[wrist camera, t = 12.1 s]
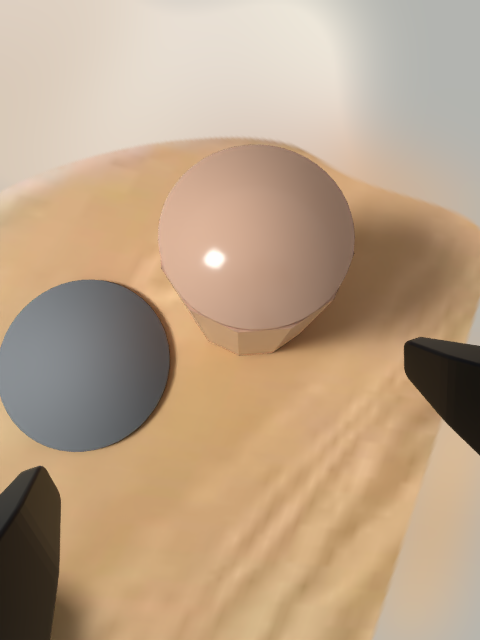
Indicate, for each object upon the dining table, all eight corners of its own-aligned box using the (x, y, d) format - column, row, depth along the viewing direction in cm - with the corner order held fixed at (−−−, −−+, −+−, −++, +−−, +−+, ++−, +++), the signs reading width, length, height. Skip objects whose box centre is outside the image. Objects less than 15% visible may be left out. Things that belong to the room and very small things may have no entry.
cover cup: (329, 266, 23) (383, 189, 14) (280, 375, 22) (307, 363, 13) (222, 218, 24) (211, 117, 15) (168, 322, 23) (122, 276, 14)
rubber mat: (198, 323, 23) (198, 322, 22) (118, 482, 21) (116, 483, 21) (55, 255, 23) (53, 253, 23) (-33, 403, 22) (-37, 403, 21)
